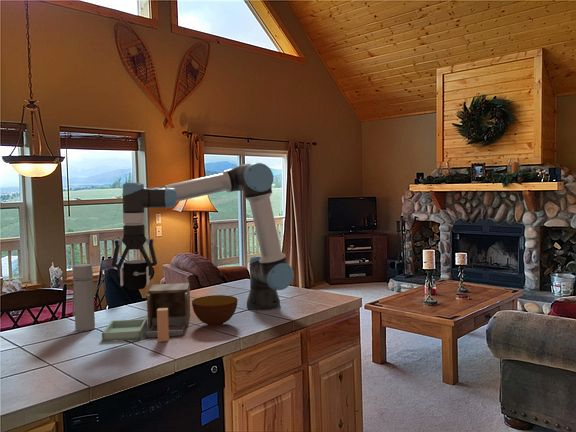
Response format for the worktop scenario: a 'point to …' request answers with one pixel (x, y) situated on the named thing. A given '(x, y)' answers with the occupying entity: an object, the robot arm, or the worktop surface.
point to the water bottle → (83, 297)
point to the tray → (124, 330)
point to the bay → (169, 300)
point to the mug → (136, 274)
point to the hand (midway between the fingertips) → (135, 284)
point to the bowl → (214, 309)
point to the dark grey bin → (165, 325)
